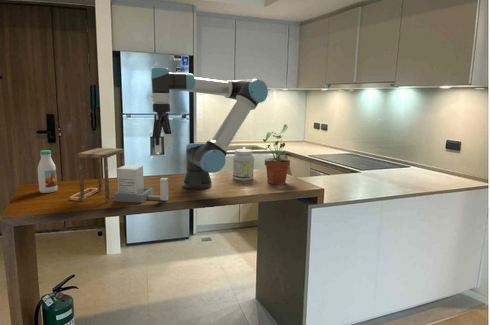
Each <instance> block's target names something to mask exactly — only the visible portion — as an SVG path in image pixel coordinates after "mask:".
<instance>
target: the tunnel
mask: <svg viewBox="0 0 490 325" xmlns="http://www.w3.org/2000/svg"><path fill="white" fill-rule="evenodd" d="M124 153H125V149H124V148H111V147H110V148H108V147H96V148H92V149H89V150H86V151H81V152H78V153H77V166H78V180H79V192H80V198H81V200H80V201H82V202H83V201H86V200H85V199H86V198H85V197H84V190H85V185H84V171H83V170H84V169H83V158H90V159H91V158H92V159H93V158H94V159H95V158H96V160H97V161H96V162H97V179H98V188H99V191H98V192H103V176H104V194H105V195H104V198H105V203H110V202H111V201H110V186H109V181H110V180H109V161H108V158H111V157H113V156H115V155H120V156H119V158H120V167H122V166H124V165H125V154H124ZM102 159H103V172H104V173H103V172H102ZM103 174H104V175H103Z"/></svg>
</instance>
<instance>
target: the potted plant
mask: <svg viewBox="0 0 490 325" xmlns="http://www.w3.org/2000/svg"><path fill="white" fill-rule="evenodd" d="M286 131H288V125H287V124H284V125H283V128H282V129H281V131H280V132H279V133H278V135H276V133H275V132H274V131H272V132H271V131H268V132H267V133H266V135H265V139H264V138H263V139H262V140H263V143H266V142H267V141H268V140H269V138H271V136H272V137H274V138H275V139H277V141H274V143H273V147H274V151H273V150H272V148H271V145H272V144H271V143H270V144H268V145H267V146H266V147H265V149H264V150H265V151H267V149H269V151H270V152H271V153H272V157H267V158H264V165H265V168H266V178H267V179H266V180H267V183H270V184H271V185H272V184H273V185H279V186H282V185H285V184H286V183H287V182H286V181H287V176H288V170H289V166H290V165H291V160H290V159H288V158H285V157H284V158H283V157H281V154H282V150H283V148H284V147H285V146H286V142H280V141H282V139H283V138H282V135H283V134H284V133H286ZM280 139H281V140H280ZM279 143H280V145H279V148H278V144H279Z"/></svg>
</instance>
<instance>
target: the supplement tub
mask: <svg viewBox="0 0 490 325" xmlns="http://www.w3.org/2000/svg"><path fill="white" fill-rule="evenodd" d="M253 154H254V153H253V150H252V149H248V148H238V149H235V150H234V154H233V159H232V178H233V179H234V180H235V181H244V182H245V181H251V180H252V179H253V178H254V166H255V165H254V164H255V161H254V159H255V157H254V155H253Z"/></svg>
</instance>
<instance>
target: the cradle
mask: <svg viewBox="0 0 490 325" xmlns="http://www.w3.org/2000/svg"><path fill="white" fill-rule="evenodd" d="M159 184H160V185H159V188H160V189H159V190H160V194H159V195H154V188H153V187H145V186H144V193H142V194H141V195H139V194H122V193H118V191H116V192H115V193H114V194H113V196H114V202H121V203H122V202H123V203H137V204H138V203H139V204H143V203H144V202H145V201H147V200H150V201H151V200H152V201H165V202H166V201H168V200H169V197H170V196H169V177H161V178H159Z"/></svg>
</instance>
